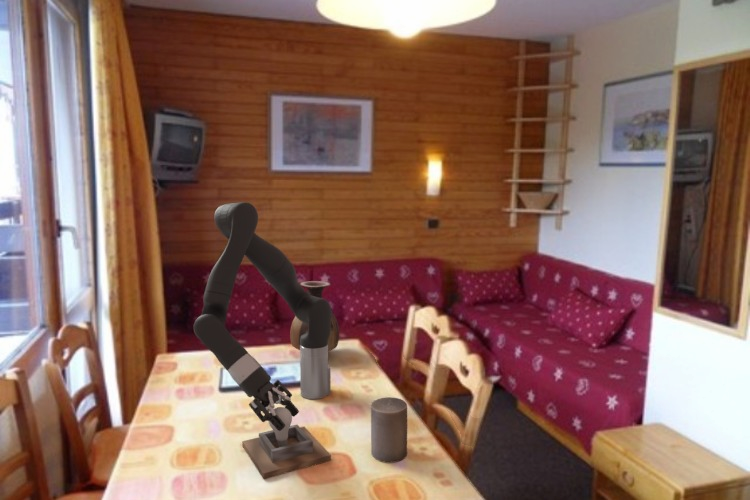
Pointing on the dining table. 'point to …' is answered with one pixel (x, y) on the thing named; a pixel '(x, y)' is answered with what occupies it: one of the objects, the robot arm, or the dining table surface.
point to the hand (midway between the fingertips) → (289, 421)
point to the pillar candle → (389, 429)
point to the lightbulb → (283, 434)
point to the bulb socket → (285, 452)
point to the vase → (302, 328)
